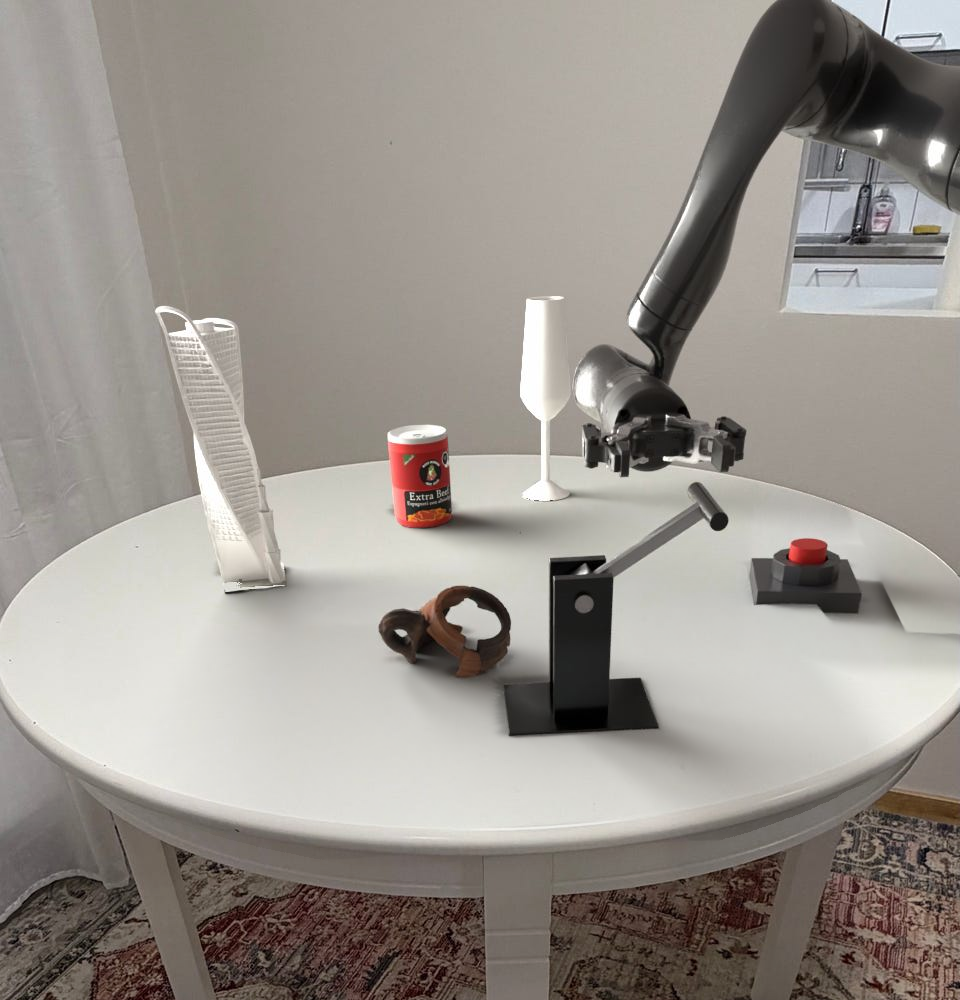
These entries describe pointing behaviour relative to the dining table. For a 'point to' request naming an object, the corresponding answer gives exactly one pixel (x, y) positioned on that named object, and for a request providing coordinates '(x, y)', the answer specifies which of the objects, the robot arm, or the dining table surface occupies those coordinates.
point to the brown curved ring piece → (448, 630)
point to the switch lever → (666, 532)
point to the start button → (808, 551)
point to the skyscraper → (225, 450)
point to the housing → (805, 583)
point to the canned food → (420, 475)
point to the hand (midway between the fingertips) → (675, 462)
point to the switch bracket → (578, 663)
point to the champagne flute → (545, 379)
